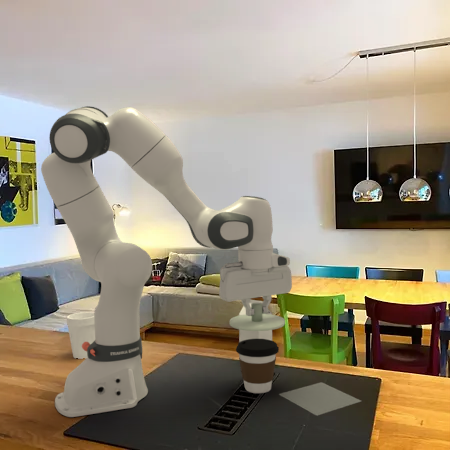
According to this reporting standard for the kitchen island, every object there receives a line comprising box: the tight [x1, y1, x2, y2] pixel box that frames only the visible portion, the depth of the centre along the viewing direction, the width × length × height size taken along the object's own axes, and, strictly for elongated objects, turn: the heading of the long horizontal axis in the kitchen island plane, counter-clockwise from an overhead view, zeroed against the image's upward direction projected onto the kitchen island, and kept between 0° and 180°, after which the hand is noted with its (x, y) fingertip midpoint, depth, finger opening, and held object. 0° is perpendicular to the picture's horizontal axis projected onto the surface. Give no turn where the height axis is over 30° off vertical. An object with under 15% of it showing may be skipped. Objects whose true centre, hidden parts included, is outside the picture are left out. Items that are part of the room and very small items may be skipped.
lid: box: [229, 303, 286, 331], centre depth 119 cm, size 14×14×5 cm
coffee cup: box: [235, 339, 280, 394], centre depth 120 cm, size 11×11×12 cm
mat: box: [278, 381, 362, 417], centre depth 114 cm, size 14×14×1 cm
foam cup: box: [66, 311, 95, 360], centre depth 151 cm, size 10×9×13 cm
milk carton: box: [238, 299, 273, 343], centre depth 140 cm, size 7×7×19 cm
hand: (257, 314), depth 119 cm, fingers closed on lid, 3 cm apart
